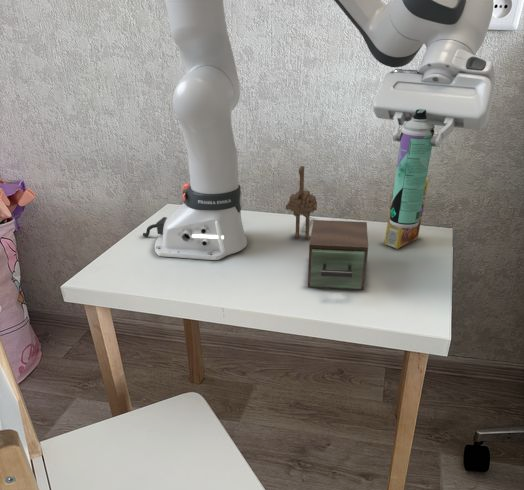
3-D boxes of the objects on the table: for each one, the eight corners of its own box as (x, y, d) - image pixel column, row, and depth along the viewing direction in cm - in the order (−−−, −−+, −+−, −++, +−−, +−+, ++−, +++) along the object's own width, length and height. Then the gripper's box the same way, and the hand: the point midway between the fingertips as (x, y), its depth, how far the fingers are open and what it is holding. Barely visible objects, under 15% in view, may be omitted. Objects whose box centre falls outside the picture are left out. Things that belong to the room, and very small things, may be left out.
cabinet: (363, 290, 110) (368, 247, 105) (307, 287, 111) (309, 244, 106) (362, 262, 121) (366, 221, 116) (311, 259, 123) (313, 219, 117)
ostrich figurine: (311, 245, 129) (314, 170, 119) (284, 242, 131) (285, 168, 121) (324, 220, 143) (328, 151, 132) (300, 218, 144) (302, 149, 134)
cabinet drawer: (361, 298, 105) (365, 262, 101) (308, 295, 107) (310, 260, 102) (360, 262, 119) (363, 229, 114) (313, 260, 120) (315, 227, 116)
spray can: (416, 218, 103) (435, 107, 92) (420, 228, 99) (440, 113, 88) (388, 217, 104) (403, 106, 93) (390, 227, 99) (406, 113, 88)
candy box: (398, 250, 126) (407, 186, 118) (383, 245, 129) (391, 182, 120) (419, 239, 131) (429, 177, 123) (404, 234, 134) (413, 173, 125)
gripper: (384, 56, 96) (356, 124, 94) (503, 63, 86) (473, 138, 85) (391, 80, 101) (364, 144, 100) (502, 89, 92) (474, 160, 91)
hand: (415, 142), depth 93 cm, fingers closed on spray can, 5 cm apart
